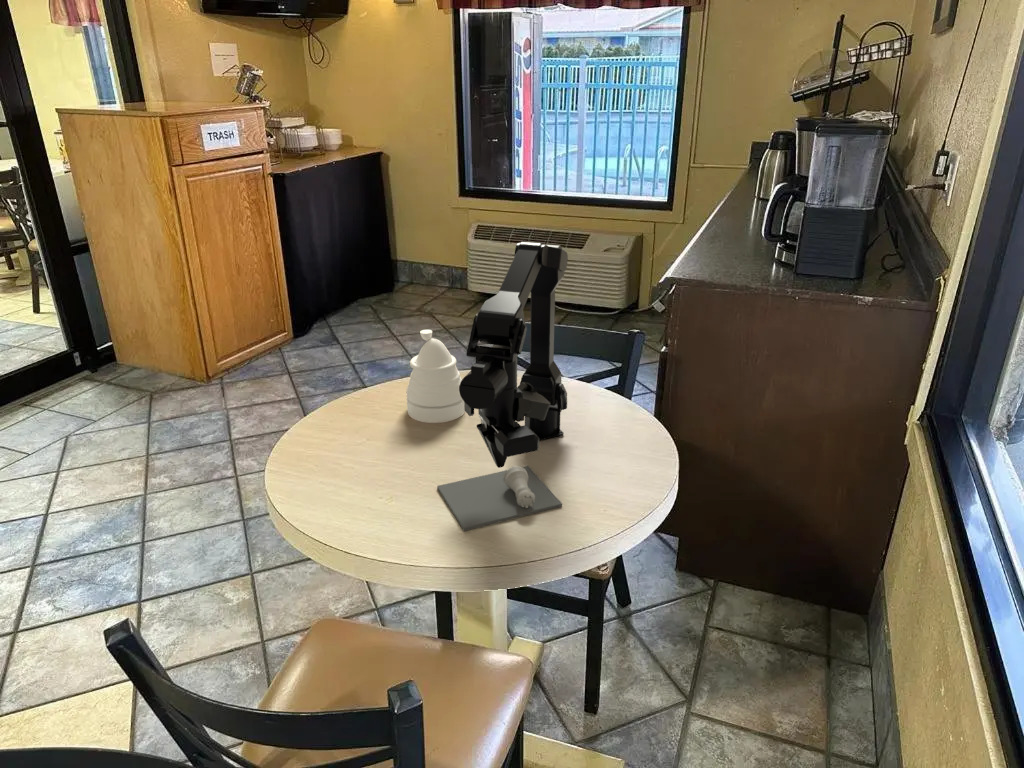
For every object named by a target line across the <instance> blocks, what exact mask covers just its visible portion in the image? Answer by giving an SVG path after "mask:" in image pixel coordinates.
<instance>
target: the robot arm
mask: <svg viewBox="0 0 1024 768" xmlns="http://www.w3.org/2000/svg"><path fill="white" fill-rule="evenodd" d="M513 257H514V258H513V259H512V261H511V263H510V265H509V268H508V271H507V272H506V275H505V276H504V279H503V281H502V283H501V285H500V288H499V289H498V291H497V293H496V294H495V295H494V296H492V297H490V298H488V299H486V300H485V301H484V303H483V304H482V305H481V307H480V309H479V310H478V311H477V313H476V314H475V316H474V318H473V322H472V327H471V330H470V336H469V339H468V344H467V350H466V353H465V354H466V357H468V358H469V357H470V358H475V362H473V364H472V365H471V367H470V371H469V372H468V373H467V374H466V375H464V377H462V378H461V379H462V381H461V383H460V386H459V392H460V396H461V398H462V399H463V401H464V410H465V412H464V413H466V414H467V415H468V416H469V417H473V416H474V415H475V410H478V417H479V418H480V423H478V424H476V429H477V430H478V432H479V434H480V436H481V437H482V440H483V441H484V444H485V446H486V447H487V449H488V451H489V453H490V457H491V458H492V460H493V463H494V464H495V466H496V467H497V468H503V467H504V466H505V464H506V462H507V458H510V457H515V456H518V455H522V454H528V453H529V454H530V453H533V452H537V451H539V449H540V441H543V440H547V439H548V440H549V439H552V438H558V437H562V436H564V431H562V429H561V412H562V411H564V410H567V409H568V392H567V389H566V388H565V386H564V383H562V372H561V370H560V368H559V366H558V365H557V364H556V361H555V360H554V351H555V314H556V310H555V309H556V289H557V287H558V286H559V284H560V283H561V281H563V279H564V277H565V271H566V270H567V267H568V263H569V262H568V259H569V258H568V257H569V255H568V252H567V251H565V249H563V247H562V245H560V244H559V245H558V244H545V243H542V242H533V241H521V242H517V243H516V245H515V249H514V256H513ZM529 296H530V334H529V335H530V336H529V337H530V338H529V339H530V345H529V346H530V347H529V352H530V353H529V355H530V357H529V361H530V362H529V365H528V367H527V368H526V370H525V371H524V373H523V374H522V376H521V378H520V382H519V385H518V356H519V355H522V351H523V346H524V343H525V340H526V335H527V332H528V327H527V325H526V320H525V317H524V315H525V314H524V309H525V306H526V303H527V301H528V298H529ZM479 343H480V344H486V345H491V346H485V345H478V344H479ZM523 421H524V424H523V425H521V424H519V422H523Z"/></svg>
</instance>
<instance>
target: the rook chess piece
mask: <svg viewBox="0 0 1024 768" xmlns="http://www.w3.org/2000/svg"><path fill="white" fill-rule="evenodd" d="M523 467H524V466H519V465H518V466H517V465H515V466H511V467H510V468H508V469H507V471H506V470H505V471H506V472H505V474H504V478H503V480H504V483H505V484H506V486H507V487H508V488H509V489H511V490H513V491H514V492H515V493H516V498H517V503H518V505H520V506H521V507H525V508H528V506H533V504H532V503H534V501H535V495H534V493H532V492H531V490H530V489H529V488H528V485H527V484H528V474H527V471H526V469H524V468H523Z"/></svg>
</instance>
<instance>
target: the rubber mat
mask: <svg viewBox="0 0 1024 768" xmlns="http://www.w3.org/2000/svg"><path fill="white" fill-rule="evenodd" d="M522 467H523V468H524V469H526V471H527V474H528V484H527V485H528V488H529V489H530V490H531V492H532V493H534V495H535V501H534V503H532V504H533V506H528V508H525V507H521V506H520V505H518V503H517V498H516V493H515V492H514V491H513V490H511V489H509V488H508V487H507V486H506V484H505V483H504V480H503V478H504V474H505V472H506V471H507V470H508V469H507V470H502V471H497V472H493V473H489V474H485V475H480V476H479V475H478V476H476V477H470V478H466V479H462V480H457V481H454V482H453V481H452V482H448V483H444V484H440V485H439V484H438V485H437V490H438V492H439V494H440V495H441V497H442V499H443V500H444V502H445V503H446V505H447V506H448V508H449V509H450V512H451V513H452V514H453V516H454V517H455V519H456V520H457V522H458V524H459V525H460V526H461V528H462V530H463V532H467V531H471V530H473V529H478V528H482V527H485V526H490V525H494V524H498V523H501V522H502V523H503V522H506V521H510V520H513V519H517V518H522V517H525V516H529V515H533V514H537V513H541V512H546V511H549V510H553V509H556V508H557V509H558V508H562V507H563V503H562V502H561V500H559V498H558V497H557V496H556V495H555V494H554V493H553V492H552V490H551V489H549V487H548V486H547V485H546V484H545V483H544V482H543V480H542V479H541V478H540V477H539V476H538V475H537V474H536V473H535V472H534V470H533V469H532V468H531V467H530V466H529V465H525V466H522Z"/></svg>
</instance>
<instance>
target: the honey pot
mask: <svg viewBox="0 0 1024 768" xmlns="http://www.w3.org/2000/svg"><path fill="white" fill-rule="evenodd" d="M419 333H420V334H419V335H420V336H421V339H423V340H425V341H426V342H425V343H424V344H423V345H422V347H421V349H420V351H419V352H418V354H417V355H415V356H413V357H412V358H411V359H410V361H409V365H410V367H411V368H412V371H411V373H410V376H409V380H408V384H407V387H406V408H407V414H408V416H409V417H410V418H411V419H413V420H415V421H417V422H422V423H427V424H428V423H429V424H440V423H449V422H451V421H454V420H456V419H459V418H461V416H463V415H464V414H465V413H466V412H465V410H464V401H463V399H462V398H461V396H460V392H459V386H460V383H461V381H462V379H463V378H462V377H461V373H460V371H459V370H458V368H457V365H456V364H457V358H456V357H455V356H454V355H452V354H451V353H450V351H449V350H448V348H447V347H446V345H445V344H444V343H443V342H442V341H441V340H439V339H437V338H433V337H432V336H433V330H432V329H422V330H420V332H419Z"/></svg>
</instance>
